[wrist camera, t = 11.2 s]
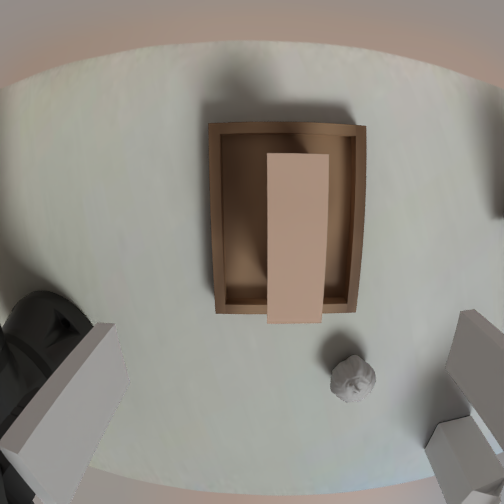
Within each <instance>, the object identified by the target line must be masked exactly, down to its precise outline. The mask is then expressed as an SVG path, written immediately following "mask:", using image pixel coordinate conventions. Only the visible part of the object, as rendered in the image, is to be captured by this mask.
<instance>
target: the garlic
mask: <svg viewBox="0 0 504 504" xmlns="http://www.w3.org/2000/svg"><path fill="white" fill-rule="evenodd" d="M375 383H376V377H375V372H374V370H373V368H372V367H371V366H370V365H369V364H368V363H367V362H365V361H364V360H362V359H361V358H360V357H359V356H358V355H352V356H350V357H348V359H347V360H344V361H342V362H340V363H339V364H338V365H337V366H336V367H335V368H334V369H333V370H332V376H331V383H330V389H331V391H332V392H333V393H334V394H336V396H337V397H339V398H340V399H341V400H343V401H345V402H354V401H356V402H359V401H361V400H362V399H364V398H365V397H366V396H367V395H368V394H370V393H371V391H372V389H373V388H374V386H375Z"/></svg>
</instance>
